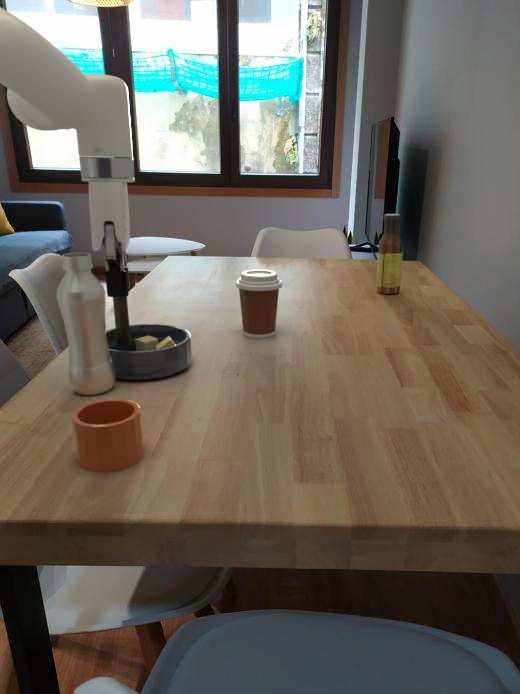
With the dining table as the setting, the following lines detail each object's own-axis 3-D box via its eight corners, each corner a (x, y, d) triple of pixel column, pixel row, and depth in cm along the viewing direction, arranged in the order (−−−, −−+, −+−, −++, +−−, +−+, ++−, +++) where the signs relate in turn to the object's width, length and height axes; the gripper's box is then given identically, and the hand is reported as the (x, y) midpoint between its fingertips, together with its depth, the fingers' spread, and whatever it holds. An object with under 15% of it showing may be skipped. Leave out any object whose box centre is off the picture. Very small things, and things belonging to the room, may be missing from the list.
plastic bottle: (124, 384, 83) (110, 251, 75) (104, 402, 77) (87, 260, 69) (85, 381, 84) (67, 249, 76) (62, 399, 78) (39, 258, 70)
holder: (74, 478, 59) (66, 429, 57) (84, 446, 65) (77, 400, 63) (142, 472, 60) (138, 424, 58) (145, 441, 67) (141, 396, 64)
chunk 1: (134, 338, 93) (148, 335, 95) (136, 354, 94) (149, 350, 96) (144, 342, 91) (158, 338, 93) (146, 358, 92) (159, 354, 94)
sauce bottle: (404, 292, 144) (412, 214, 137) (391, 296, 140) (398, 216, 132) (383, 288, 148) (390, 212, 141) (370, 292, 144) (376, 214, 136)
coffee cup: (249, 342, 103) (248, 279, 98) (228, 329, 110) (227, 270, 106) (290, 335, 107) (291, 275, 103) (268, 324, 115) (268, 267, 110)
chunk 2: (170, 339, 89) (168, 335, 91) (156, 350, 89) (155, 345, 91) (180, 352, 90) (179, 348, 93) (167, 362, 90) (166, 358, 92)
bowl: (92, 385, 82) (88, 354, 81) (103, 352, 96) (100, 325, 94) (193, 379, 85) (191, 349, 83) (190, 348, 99) (188, 322, 97)
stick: (116, 346, 89) (108, 259, 84) (117, 342, 91) (110, 257, 86) (130, 346, 89) (123, 259, 84) (131, 341, 91) (124, 257, 86)
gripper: (88, 169, 86) (100, 284, 93) (71, 171, 72) (87, 307, 79) (137, 170, 88) (145, 283, 95) (130, 172, 73) (140, 306, 80)
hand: (119, 293), depth 87 cm, fingers closed on stick, 2 cm apart
